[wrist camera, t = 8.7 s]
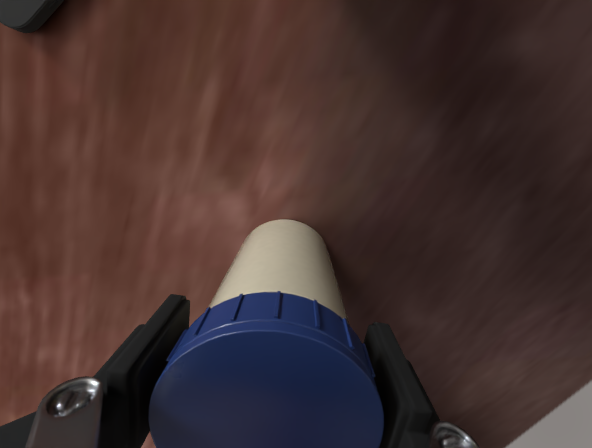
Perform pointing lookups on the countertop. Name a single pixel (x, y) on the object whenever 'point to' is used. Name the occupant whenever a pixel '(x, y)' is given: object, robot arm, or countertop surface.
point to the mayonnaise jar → (283, 266)
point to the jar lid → (267, 380)
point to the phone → (26, 13)
